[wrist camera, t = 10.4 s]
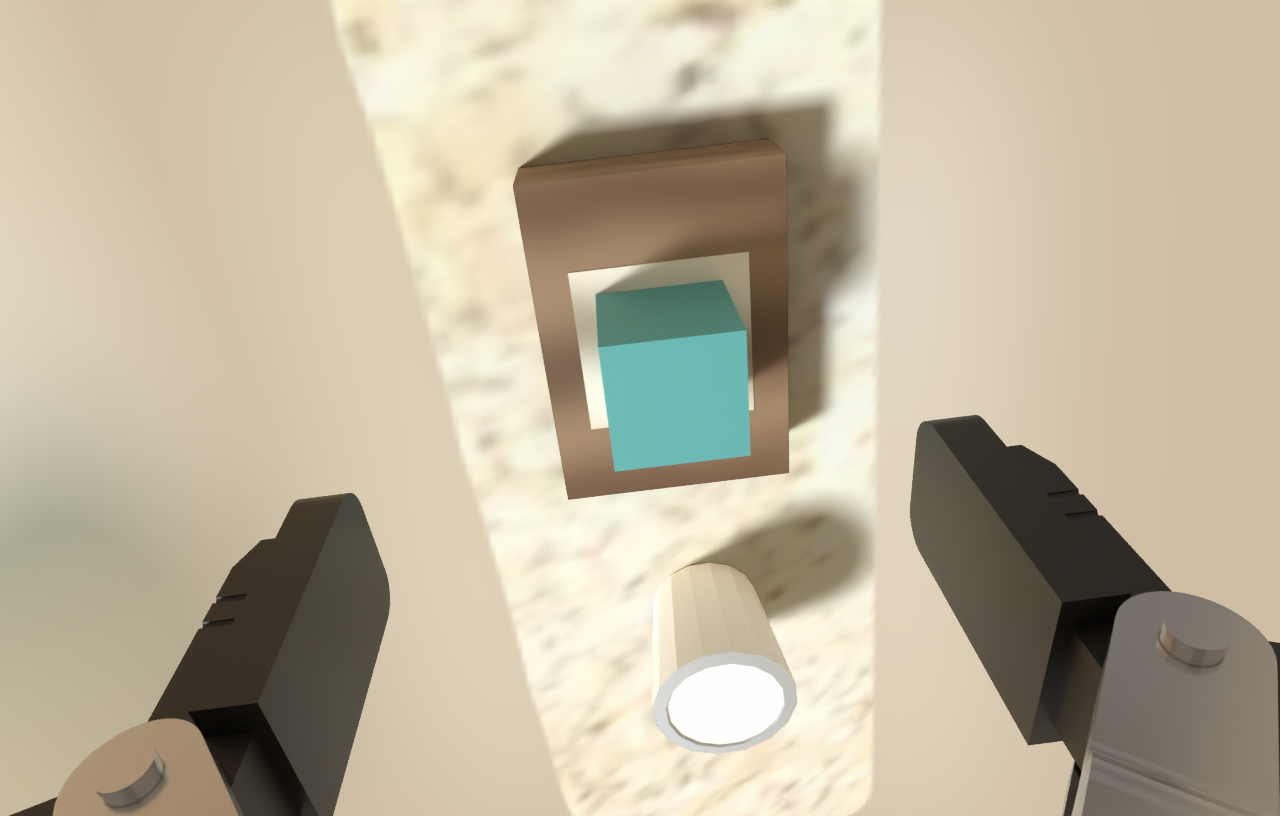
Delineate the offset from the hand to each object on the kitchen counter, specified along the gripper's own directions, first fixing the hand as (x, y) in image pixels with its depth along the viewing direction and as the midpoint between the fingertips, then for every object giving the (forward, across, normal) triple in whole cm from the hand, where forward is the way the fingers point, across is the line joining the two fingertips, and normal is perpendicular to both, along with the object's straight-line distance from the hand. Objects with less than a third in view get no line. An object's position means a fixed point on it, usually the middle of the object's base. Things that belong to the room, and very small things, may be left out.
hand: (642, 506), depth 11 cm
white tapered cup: (+22, -2, +24) cm, 33 cm away
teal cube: (+20, -2, +7) cm, 21 cm away
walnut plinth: (+23, -2, +7) cm, 24 cm away
